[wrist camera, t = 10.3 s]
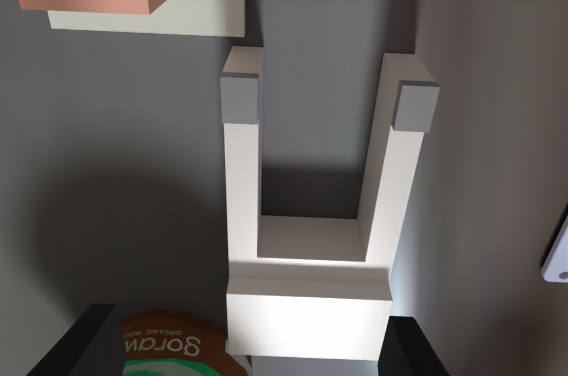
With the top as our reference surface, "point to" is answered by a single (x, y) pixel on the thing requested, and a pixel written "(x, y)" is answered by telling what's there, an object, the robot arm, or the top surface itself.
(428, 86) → the white u-shaped piece
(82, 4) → the salmon pink rectangular prism
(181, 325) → the food container
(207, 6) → the white rectangular board
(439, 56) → the top surface
